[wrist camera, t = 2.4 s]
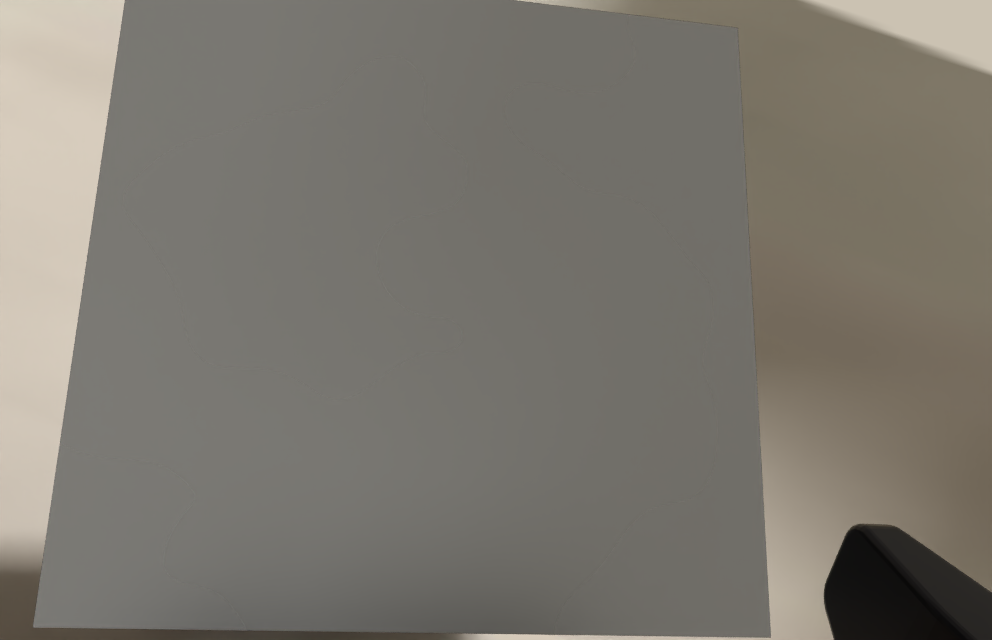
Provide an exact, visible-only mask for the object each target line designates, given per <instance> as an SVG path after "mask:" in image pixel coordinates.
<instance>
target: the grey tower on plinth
mask: <svg viewBox="0 0 992 640" xmlns="http://www.w3.org/2000/svg"><path fill="white" fill-rule="evenodd" d="M33 628H106V629H179V630H252V631H325V632H398V633H471V634H544V635H617V636H690V637H763V638H771V630H770V612H769V594H768V575H767V557H766V539H765V520H764V502H763V484H762V465H761V447H760V429H759V411H758V392H757V374H756V356H755V337H754V319H753V301H752V282H751V264H750V246H749V227H748V209H747V191H746V172H745V154H744V136H743V117H742V99H741V81H740V62H739V44H738V28H735V27H727V26H719V25H711V24H703V23H695V22H686V21H678V20H670V19H662V18H654V17H646V16H638V15H630V14H622V13H613V12H605V11H597V10H589V9H581V8H573V7H565V6H557V5H548V4H540V3H532V2H524V1H516V0H125V4H124V10H123V17H122V24H121V31H120V38H119V44H118V51H117V58H116V65H115V72H114V78H113V85H112V92H111V99H110V106H109V112H108V119H107V126H106V133H105V140H104V146H103V153H102V160H101V167H100V174H99V181H98V187H97V194H96V201H95V208H94V215H93V221H92V228H91V235H90V242H89V249H88V255H87V262H86V269H85V276H84V283H83V289H82V296H81V303H80V310H79V317H78V323H77V330H76V337H75V344H74V351H73V358H72V364H71V371H70V378H69V385H68V392H67V398H66V405H65V412H64V419H63V426H62V432H61V439H60V446H59V453H58V460H57V466H56V473H55V480H54V487H53V494H52V500H51V507H50V514H49V521H48V528H47V535H46V541H45V548H44V555H43V562H42V569H41V575H40V582H39V589H38V596H37V603H36V609H35V616H34V623H33Z"/></svg>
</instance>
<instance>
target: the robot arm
mask: <svg viewBox="0 0 992 640" xmlns="http://www.w3.org/2000/svg"><path fill="white" fill-rule="evenodd" d="M824 604H825V610H826V613H827V617H828V620H829V624H830V628H831V631H832V635H833V638H834V640H992V592H990V591H989V590H987V589H986V588H984V587H983V586H981V585H980V584H979V583H977V582H976V581H974V580H973V579H971V578H970V577H969V576H967V575H966V574H964V573H963V572H961V571H960V570H958V569H957V568H956V567H954V566H953V565H951V564H950V563H948V562H947V561H946V560H944V559H943V558H941V557H940V556H938V555H937V554H935V553H934V552H933V551H931V550H930V549H928V548H927V547H925V546H924V545H923V544H921V543H920V542H918V541H917V540H915V539H914V538H912V537H911V536H910V535H908V534H907V533H905V532H904V531H902V530H901V529H899V528H898V527H895V526H892V525H882V524H857V525H854V526H853V527H851V528H850V529H849V530H848V532H847V533H846V535H845V538H844V540H843V542H842V545H841V547H840V549H839V552H838V554H837V556H836V559H835V561H834V564H833V566H832V568H831V571H830V573H829V575H828V578H827V580H826V583H825V588H824Z"/></svg>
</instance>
